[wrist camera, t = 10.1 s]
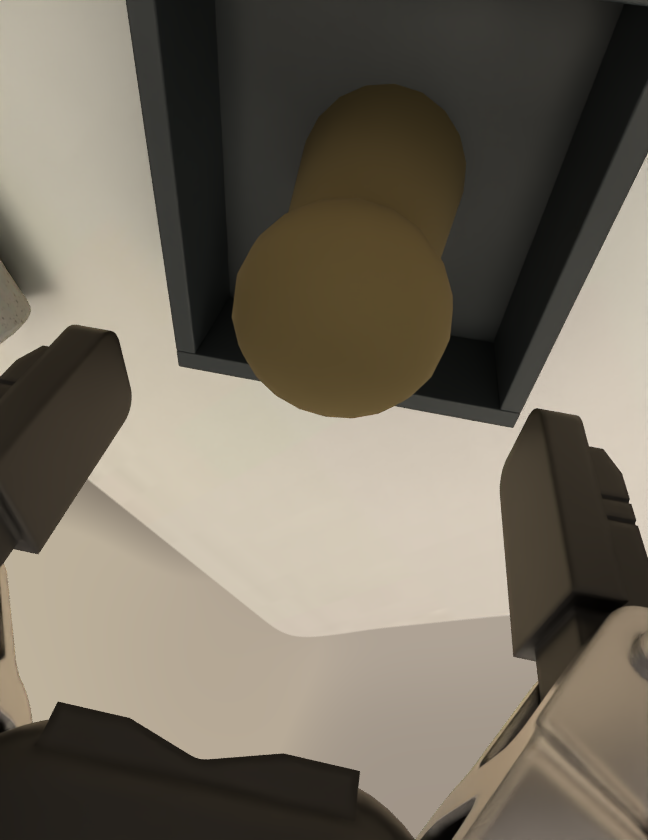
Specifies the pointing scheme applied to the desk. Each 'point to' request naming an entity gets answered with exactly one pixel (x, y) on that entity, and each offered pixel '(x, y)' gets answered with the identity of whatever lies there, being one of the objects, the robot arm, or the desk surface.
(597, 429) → the desk surface
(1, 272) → the ceramic mug
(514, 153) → the open box
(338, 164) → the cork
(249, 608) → the desk surface
